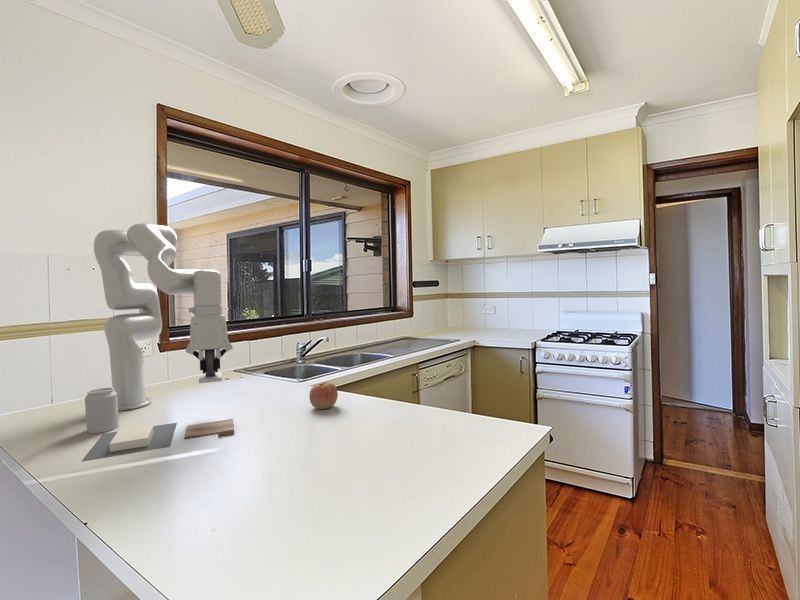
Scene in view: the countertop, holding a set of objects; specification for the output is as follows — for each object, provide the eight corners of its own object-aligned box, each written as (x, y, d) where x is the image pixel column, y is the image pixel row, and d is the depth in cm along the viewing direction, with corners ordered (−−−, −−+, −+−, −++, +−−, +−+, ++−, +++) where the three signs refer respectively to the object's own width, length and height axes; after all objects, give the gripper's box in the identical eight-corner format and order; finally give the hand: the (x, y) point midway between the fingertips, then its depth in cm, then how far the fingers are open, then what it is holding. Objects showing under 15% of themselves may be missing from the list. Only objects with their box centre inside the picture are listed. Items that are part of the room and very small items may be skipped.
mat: (103, 436, 115) (103, 433, 115) (177, 425, 122) (177, 422, 122) (81, 464, 97) (81, 461, 97) (169, 449, 104) (169, 446, 104)
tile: (118, 430, 110) (109, 443, 101) (153, 425, 114) (147, 437, 104) (118, 438, 111) (109, 452, 101) (153, 433, 114) (148, 446, 105)
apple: (342, 408, 133) (341, 383, 133) (316, 414, 128) (315, 388, 128) (330, 402, 140) (329, 378, 140) (305, 407, 135) (304, 382, 135)
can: (102, 436, 115) (99, 393, 114) (80, 435, 116) (77, 393, 116) (125, 427, 122) (123, 386, 122) (104, 426, 124) (101, 386, 123)
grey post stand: (200, 377, 129) (199, 348, 129) (221, 375, 132) (220, 346, 131) (199, 383, 122) (197, 352, 122) (221, 381, 124) (220, 350, 124)
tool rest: (187, 429, 118) (187, 425, 118) (233, 422, 123) (232, 418, 123) (184, 442, 109) (184, 437, 109) (234, 433, 114) (234, 429, 113)
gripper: (176, 313, 119) (179, 377, 120) (237, 311, 125) (239, 371, 127) (178, 311, 126) (181, 372, 127) (236, 309, 132) (238, 366, 133)
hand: (210, 371), depth 127 cm, fingers closed on grey post stand, 2 cm apart
